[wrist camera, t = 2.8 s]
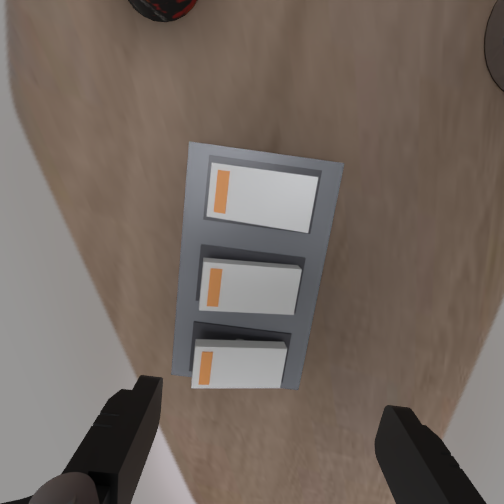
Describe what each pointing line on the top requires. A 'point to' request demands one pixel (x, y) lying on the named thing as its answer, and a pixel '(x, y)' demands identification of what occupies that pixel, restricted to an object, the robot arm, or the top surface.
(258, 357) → the rocker
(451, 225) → the top surface
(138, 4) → the deodorant
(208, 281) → the rocker
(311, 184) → the rocker
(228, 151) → the rocker switch panel
